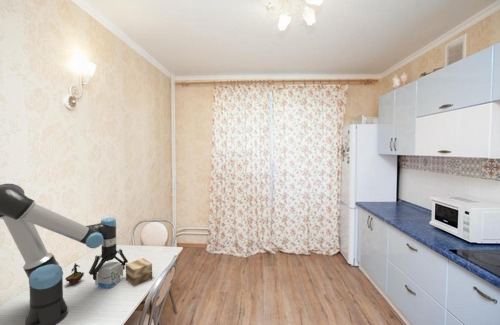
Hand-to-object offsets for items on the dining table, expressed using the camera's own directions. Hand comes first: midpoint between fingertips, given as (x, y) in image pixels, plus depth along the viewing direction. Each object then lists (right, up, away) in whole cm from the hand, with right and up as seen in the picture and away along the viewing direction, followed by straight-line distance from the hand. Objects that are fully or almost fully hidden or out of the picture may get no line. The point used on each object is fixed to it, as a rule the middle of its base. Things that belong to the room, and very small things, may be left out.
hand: (109, 279), depth 139 cm
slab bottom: (+15, -3, +6) cm, 16 cm away
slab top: (+15, +2, +5) cm, 16 cm away
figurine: (-21, -2, 0) cm, 21 cm away
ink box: (0, -3, 0) cm, 3 cm away
